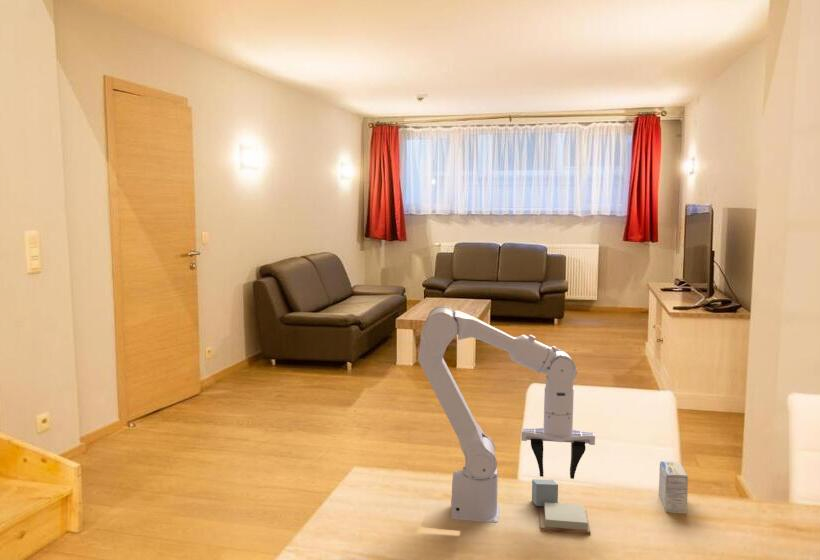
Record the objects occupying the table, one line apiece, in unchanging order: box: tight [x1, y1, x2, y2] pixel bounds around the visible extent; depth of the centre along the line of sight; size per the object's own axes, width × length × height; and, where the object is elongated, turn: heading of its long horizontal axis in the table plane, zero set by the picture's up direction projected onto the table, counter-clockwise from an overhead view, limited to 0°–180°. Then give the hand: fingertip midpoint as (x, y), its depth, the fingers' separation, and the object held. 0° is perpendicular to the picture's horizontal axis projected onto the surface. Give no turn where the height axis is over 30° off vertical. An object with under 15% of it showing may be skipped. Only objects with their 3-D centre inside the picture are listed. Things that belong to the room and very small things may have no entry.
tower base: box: [538, 506, 591, 536], centre depth 134 cm, size 10×10×2 cm
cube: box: [531, 478, 559, 507], centre depth 141 cm, size 4×4×4 cm
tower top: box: [543, 502, 589, 530], centre depth 133 cm, size 8×8×2 cm
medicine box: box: [658, 460, 689, 514], centre depth 140 cm, size 8×4×9 cm, turn 168°
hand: (556, 475), depth 136 cm, fingers open, 5 cm apart
